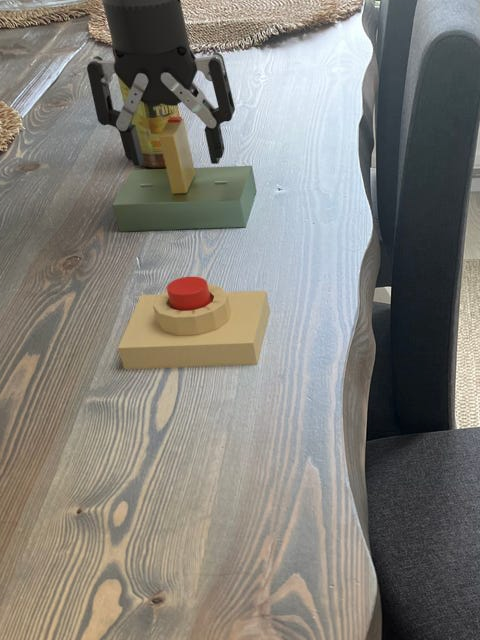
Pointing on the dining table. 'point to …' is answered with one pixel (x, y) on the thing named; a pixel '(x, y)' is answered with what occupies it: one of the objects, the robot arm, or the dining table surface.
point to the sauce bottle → (150, 127)
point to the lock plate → (186, 200)
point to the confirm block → (196, 331)
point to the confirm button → (188, 293)
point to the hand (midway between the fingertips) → (177, 162)
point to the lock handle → (177, 155)
